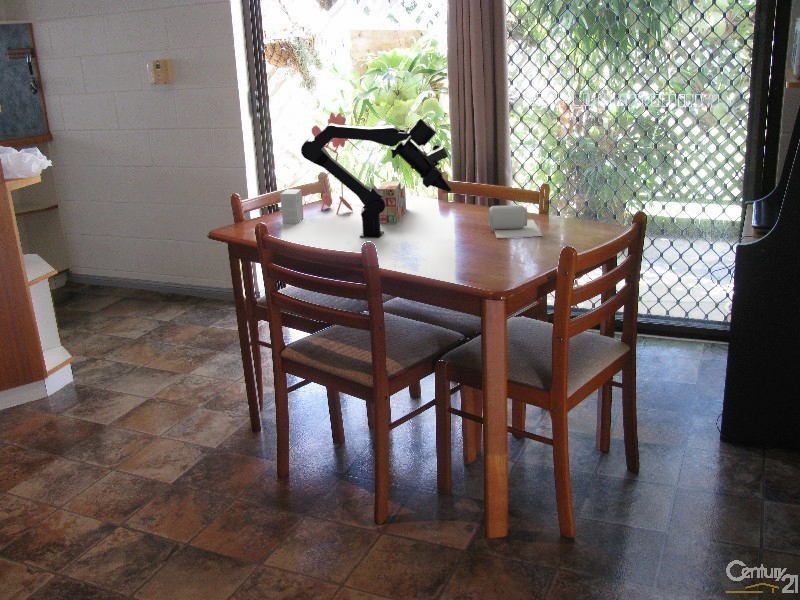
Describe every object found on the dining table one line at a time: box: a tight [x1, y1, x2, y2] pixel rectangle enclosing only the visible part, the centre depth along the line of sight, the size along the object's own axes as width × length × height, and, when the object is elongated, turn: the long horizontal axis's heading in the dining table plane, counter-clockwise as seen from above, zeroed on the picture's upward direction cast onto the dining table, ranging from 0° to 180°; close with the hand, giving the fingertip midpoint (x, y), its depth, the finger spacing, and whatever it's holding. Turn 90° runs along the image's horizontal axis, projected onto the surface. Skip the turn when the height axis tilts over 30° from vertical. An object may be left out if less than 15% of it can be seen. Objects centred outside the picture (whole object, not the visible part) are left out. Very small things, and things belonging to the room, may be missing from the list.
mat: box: [493, 219, 543, 239], centre depth 259 cm, size 14×20×1 cm
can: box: [488, 204, 528, 231], centre depth 257 cm, size 8×8×12 cm
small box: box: [279, 188, 304, 224], centre depth 282 cm, size 8×6×10 cm
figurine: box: [311, 112, 364, 217], centre depth 292 cm, size 15×26×35 cm, turn 43°
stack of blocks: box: [377, 180, 407, 225], centre depth 282 cm, size 21×6×12 cm, turn 171°
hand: (450, 190), depth 255 cm, fingers closed
